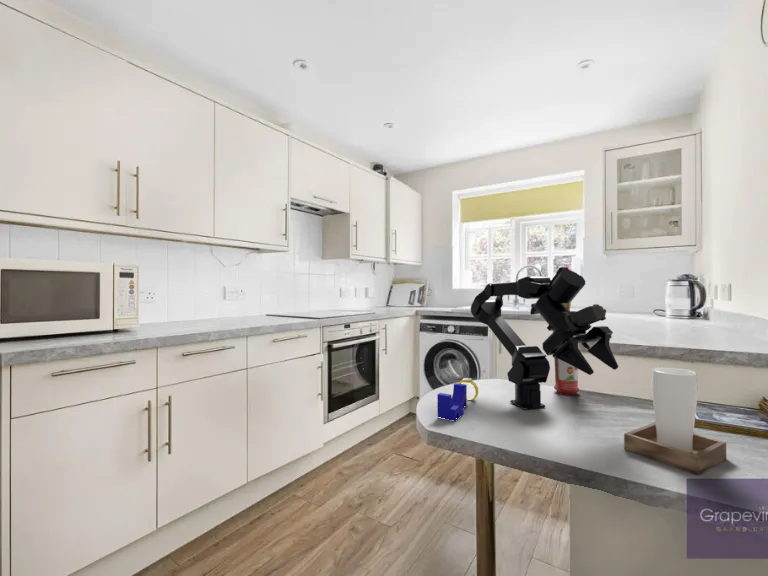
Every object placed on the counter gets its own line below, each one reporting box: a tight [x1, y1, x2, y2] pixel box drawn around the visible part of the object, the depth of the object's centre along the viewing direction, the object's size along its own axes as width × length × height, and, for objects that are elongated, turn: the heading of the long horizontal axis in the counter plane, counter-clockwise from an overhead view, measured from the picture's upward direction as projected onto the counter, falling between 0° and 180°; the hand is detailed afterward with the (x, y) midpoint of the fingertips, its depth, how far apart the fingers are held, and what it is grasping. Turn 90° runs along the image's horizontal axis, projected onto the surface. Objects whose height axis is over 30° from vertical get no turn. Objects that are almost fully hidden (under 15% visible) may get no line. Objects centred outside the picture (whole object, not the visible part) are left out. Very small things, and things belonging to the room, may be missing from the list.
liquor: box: [552, 301, 581, 396], centre depth 109 cm, size 7×7×28 cm
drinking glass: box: [651, 366, 698, 453], centre depth 70 cm, size 7×7×15 cm
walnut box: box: [623, 422, 727, 476], centre depth 69 cm, size 12×12×3 cm
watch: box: [457, 377, 479, 401], centre depth 103 cm, size 6×3×6 cm, turn 57°
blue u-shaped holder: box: [437, 382, 468, 422], centre depth 93 cm, size 12×4×6 cm, turn 147°
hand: (604, 371), depth 78 cm, fingers open, 9 cm apart
